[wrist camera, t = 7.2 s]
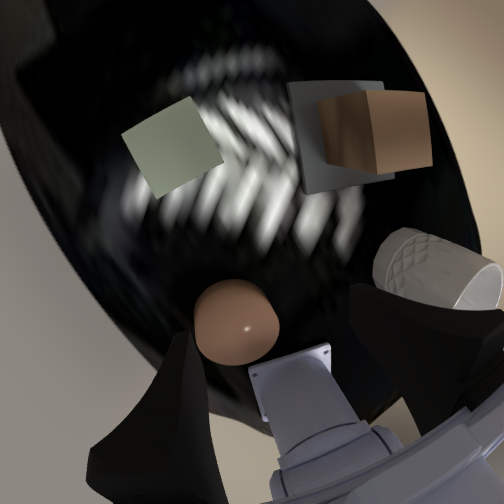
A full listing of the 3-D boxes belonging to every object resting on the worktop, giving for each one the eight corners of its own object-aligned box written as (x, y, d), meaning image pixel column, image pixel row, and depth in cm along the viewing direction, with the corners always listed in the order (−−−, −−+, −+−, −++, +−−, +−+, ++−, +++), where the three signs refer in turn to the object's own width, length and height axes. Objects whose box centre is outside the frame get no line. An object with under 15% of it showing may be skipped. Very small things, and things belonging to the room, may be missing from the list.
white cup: (408, 202, 22) (498, 239, 13) (436, 256, 25) (506, 299, 16) (351, 266, 23) (428, 333, 14) (387, 311, 26) (449, 371, 17)
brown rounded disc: (273, 329, 24) (284, 351, 21) (205, 349, 23) (209, 373, 20) (261, 269, 22) (272, 287, 19) (183, 290, 21) (184, 312, 18)
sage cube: (216, 158, 18) (224, 162, 14) (163, 188, 18) (156, 199, 14) (189, 106, 16) (190, 96, 13) (134, 136, 16) (121, 134, 13)
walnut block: (377, 156, 20) (432, 165, 14) (326, 163, 19) (377, 174, 13) (368, 99, 18) (424, 92, 12) (316, 101, 17) (365, 90, 12)
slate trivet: (391, 177, 21) (394, 178, 21) (304, 193, 20) (307, 195, 19) (379, 82, 18) (382, 81, 17) (286, 83, 17) (288, 82, 16)
